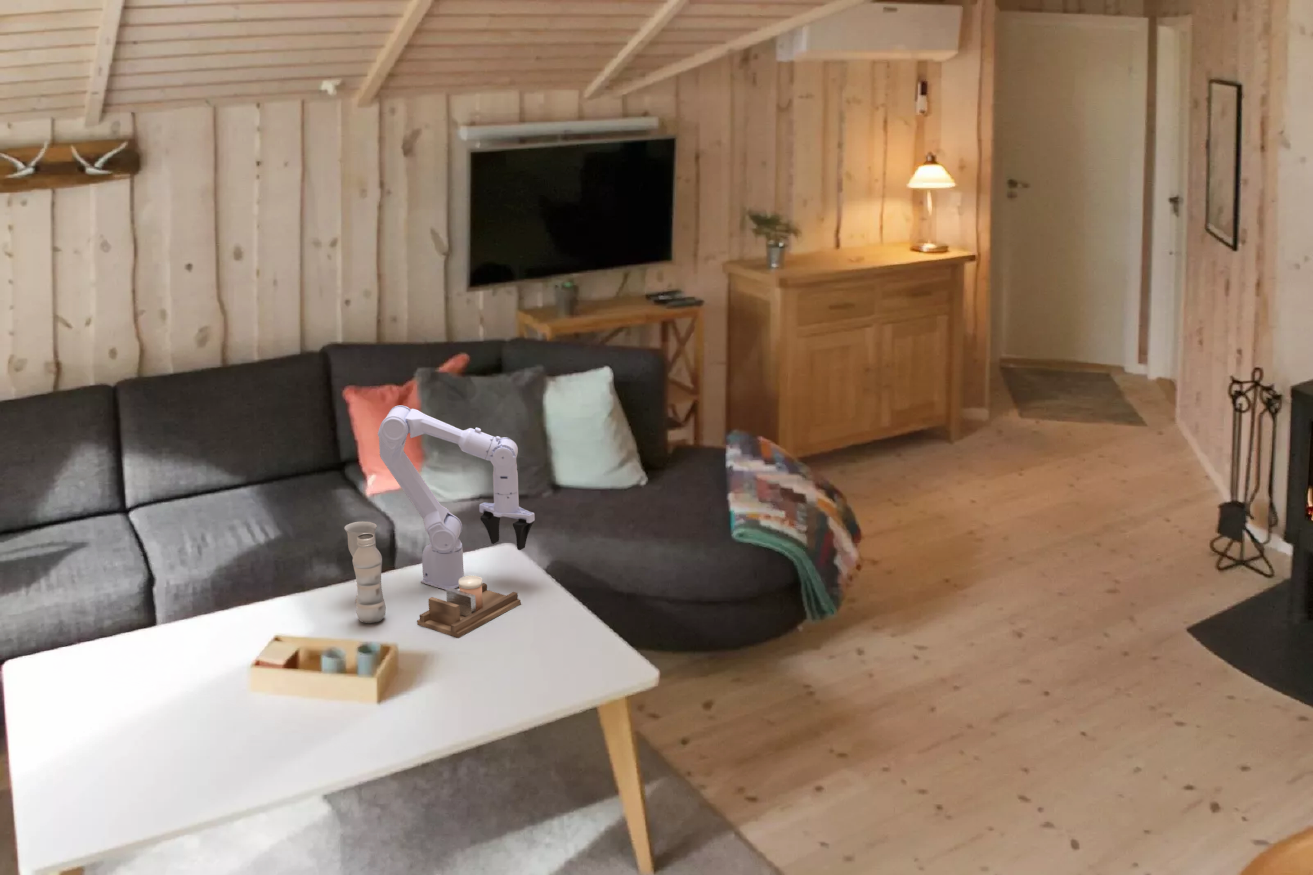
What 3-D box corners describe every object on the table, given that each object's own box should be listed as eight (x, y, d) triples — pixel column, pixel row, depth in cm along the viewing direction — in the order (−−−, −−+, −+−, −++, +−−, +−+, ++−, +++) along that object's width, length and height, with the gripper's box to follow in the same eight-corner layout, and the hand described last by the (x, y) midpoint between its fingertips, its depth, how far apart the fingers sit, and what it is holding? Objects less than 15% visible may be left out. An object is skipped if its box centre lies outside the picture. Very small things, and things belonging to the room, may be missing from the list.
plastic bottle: (390, 614, 296) (384, 531, 290) (381, 627, 290) (375, 542, 284) (362, 613, 297) (356, 530, 291) (352, 626, 290) (346, 541, 284)
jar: (455, 610, 296) (453, 581, 294) (470, 602, 300) (469, 573, 298) (472, 615, 293) (471, 586, 291) (488, 607, 297) (486, 578, 295)
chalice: (344, 604, 302) (338, 530, 296) (359, 592, 308) (353, 520, 302) (373, 607, 300) (367, 533, 294) (387, 596, 306) (382, 523, 300)
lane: (417, 624, 291) (415, 599, 289) (480, 592, 308) (479, 568, 306) (458, 637, 285) (456, 612, 283) (520, 603, 301) (519, 579, 300)
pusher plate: (447, 610, 295) (446, 590, 294) (452, 608, 296) (450, 587, 295) (471, 618, 291) (470, 597, 290) (476, 615, 292) (475, 595, 291)
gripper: (470, 490, 306) (472, 545, 310) (521, 501, 299) (523, 557, 303) (488, 482, 312) (491, 535, 316) (539, 492, 305) (540, 546, 309)
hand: (508, 545), depth 310 cm, fingers open, 7 cm apart
